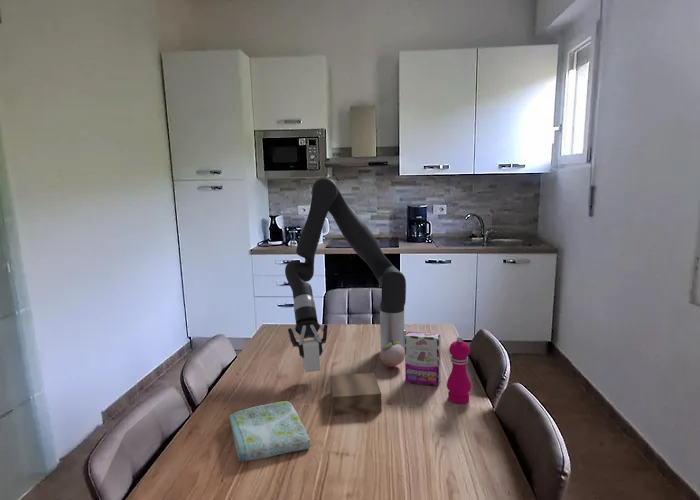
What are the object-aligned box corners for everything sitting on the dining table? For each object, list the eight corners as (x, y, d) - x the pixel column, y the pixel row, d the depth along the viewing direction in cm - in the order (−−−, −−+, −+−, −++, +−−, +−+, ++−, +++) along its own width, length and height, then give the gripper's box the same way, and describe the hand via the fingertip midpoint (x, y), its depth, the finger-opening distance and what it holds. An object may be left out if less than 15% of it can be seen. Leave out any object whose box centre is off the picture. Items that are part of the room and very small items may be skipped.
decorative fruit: (396, 375, 155) (396, 347, 153) (376, 369, 160) (376, 342, 158) (409, 365, 162) (409, 339, 160) (390, 360, 167) (390, 334, 165)
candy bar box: (440, 380, 150) (441, 333, 148) (438, 386, 146) (439, 338, 143) (407, 376, 154) (407, 330, 151) (404, 382, 149) (404, 335, 146)
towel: (292, 411, 133) (291, 395, 132) (311, 452, 114) (311, 433, 113) (229, 424, 127) (227, 408, 126) (238, 470, 107) (237, 450, 106)
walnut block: (373, 390, 145) (373, 372, 144) (381, 412, 131) (381, 393, 130) (330, 393, 144) (330, 375, 143) (333, 416, 130) (333, 397, 129)
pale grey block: (317, 364, 154) (316, 339, 152) (320, 370, 149) (318, 344, 147) (303, 366, 153) (301, 341, 151) (305, 372, 148) (303, 346, 146)
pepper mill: (468, 393, 141) (470, 332, 137) (472, 405, 134) (474, 341, 130) (445, 392, 141) (446, 332, 138) (448, 404, 134) (448, 340, 131)
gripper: (284, 307, 153) (290, 354, 144) (326, 303, 156) (334, 348, 147) (284, 317, 159) (289, 363, 150) (324, 313, 162) (331, 357, 153)
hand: (311, 355), depth 148 cm, fingers closed on pale grey block, 5 cm apart
